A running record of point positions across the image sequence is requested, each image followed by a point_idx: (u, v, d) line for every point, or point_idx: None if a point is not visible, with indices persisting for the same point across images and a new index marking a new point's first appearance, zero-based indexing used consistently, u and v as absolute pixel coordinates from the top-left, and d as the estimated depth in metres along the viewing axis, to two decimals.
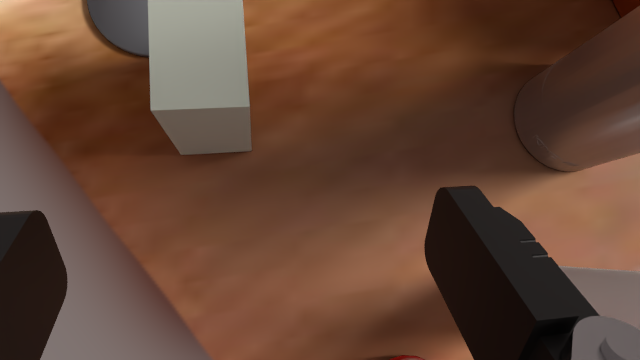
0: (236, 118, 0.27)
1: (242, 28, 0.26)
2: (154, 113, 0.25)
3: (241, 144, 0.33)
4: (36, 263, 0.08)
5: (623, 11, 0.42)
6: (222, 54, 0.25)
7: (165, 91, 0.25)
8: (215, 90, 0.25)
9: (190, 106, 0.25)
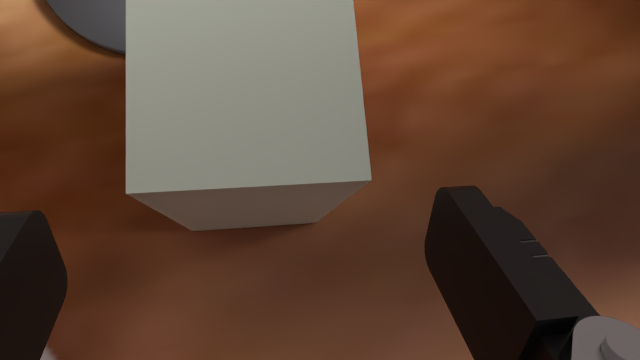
0: (323, 195, 0.12)
1: None
2: (136, 197, 0.10)
3: (304, 218, 0.18)
4: (36, 264, 0.08)
5: None
6: (303, 51, 0.11)
7: (164, 143, 0.10)
8: (288, 140, 0.10)
9: (227, 182, 0.10)
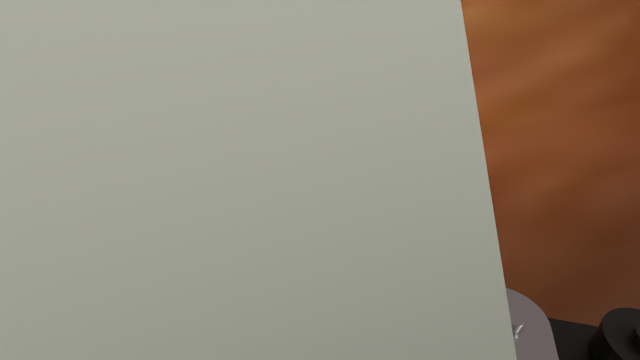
0: None
1: (490, 246, 0.05)
2: None
3: None
4: None
5: None
6: None
7: None
8: None
9: None
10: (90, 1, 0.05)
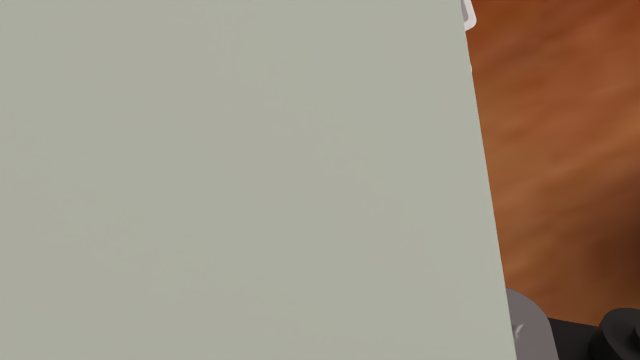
0: None
1: (490, 248, 0.05)
2: None
3: None
4: None
5: None
6: None
7: None
8: None
9: None
10: (90, 3, 0.05)
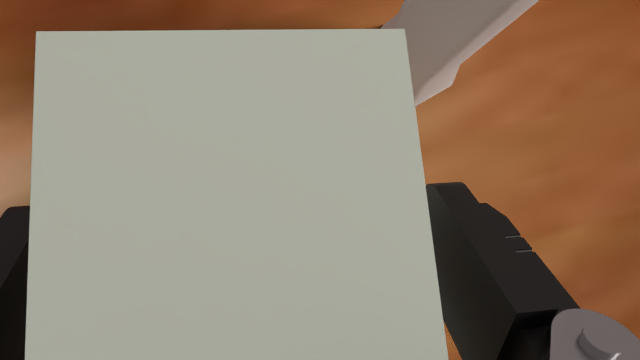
0: None
1: (427, 256, 0.06)
2: None
3: None
4: None
5: None
6: None
7: None
8: None
9: None
10: (115, 67, 0.06)
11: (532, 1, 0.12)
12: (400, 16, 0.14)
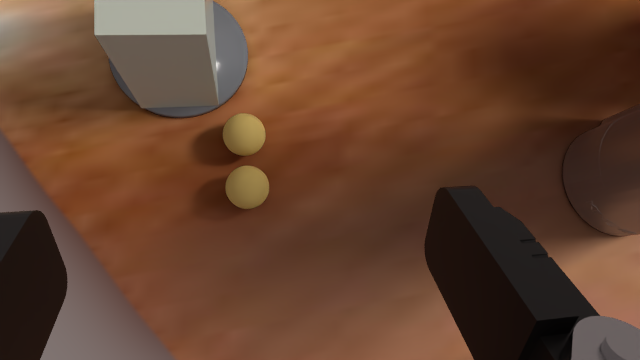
0: (194, 53, 0.25)
1: None
2: (99, 40, 0.22)
3: (206, 94, 0.30)
4: (35, 264, 0.08)
5: None
6: None
7: (111, 15, 0.22)
8: (168, 16, 0.23)
9: (139, 32, 0.22)
10: None
11: None
12: None
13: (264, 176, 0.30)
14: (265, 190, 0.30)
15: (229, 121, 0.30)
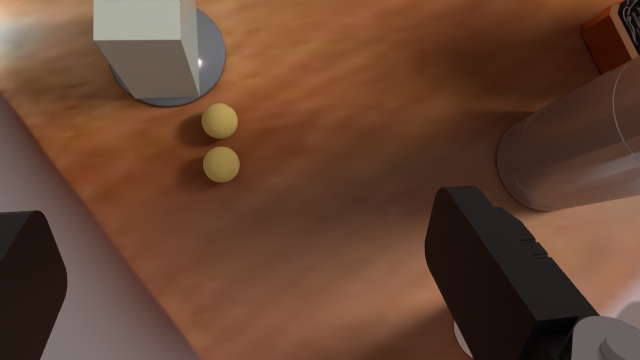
0: (173, 53, 0.31)
1: None
2: (97, 44, 0.29)
3: (187, 87, 0.37)
4: (36, 264, 0.08)
5: (599, 61, 0.45)
6: None
7: (106, 24, 0.28)
8: (151, 25, 0.29)
9: (128, 38, 0.29)
10: None
11: None
12: None
13: (235, 155, 0.36)
14: (235, 166, 0.36)
15: (206, 110, 0.37)
